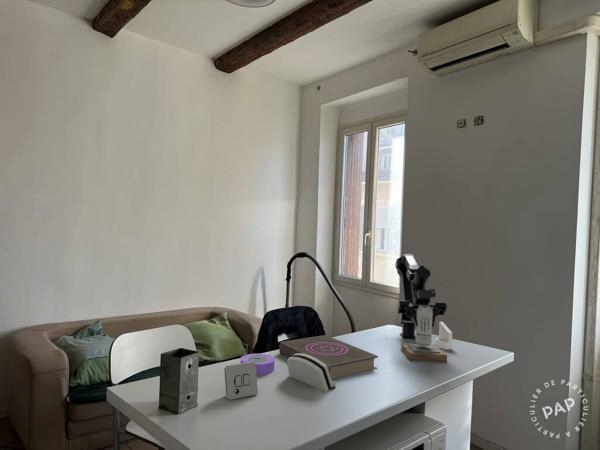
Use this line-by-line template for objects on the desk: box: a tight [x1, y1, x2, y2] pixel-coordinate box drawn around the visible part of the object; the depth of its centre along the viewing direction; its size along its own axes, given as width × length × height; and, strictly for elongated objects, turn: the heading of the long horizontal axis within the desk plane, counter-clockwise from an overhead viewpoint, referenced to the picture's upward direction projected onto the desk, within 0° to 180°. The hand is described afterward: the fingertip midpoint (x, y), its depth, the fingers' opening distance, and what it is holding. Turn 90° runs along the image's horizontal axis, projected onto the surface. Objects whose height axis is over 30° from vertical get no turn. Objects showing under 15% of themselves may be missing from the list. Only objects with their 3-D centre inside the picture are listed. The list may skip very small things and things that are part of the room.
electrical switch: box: [224, 362, 259, 401], centre depth 125 cm, size 9×5×9 cm, turn 121°
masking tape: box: [239, 353, 276, 376], centre depth 147 cm, size 12×12×4 cm
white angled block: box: [434, 321, 453, 351], centre depth 181 cm, size 4×10×9 cm, turn 25°
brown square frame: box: [400, 342, 448, 363], centre depth 168 cm, size 14×14×3 cm
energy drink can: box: [414, 305, 433, 346], centre depth 168 cm, size 6×6×15 cm
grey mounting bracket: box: [286, 353, 337, 392], centre depth 136 cm, size 17×5×10 cm, turn 44°
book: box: [278, 334, 379, 379], centre depth 158 cm, size 30×22×5 cm
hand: (424, 326), depth 167 cm, fingers closed on energy drink can, 6 cm apart
